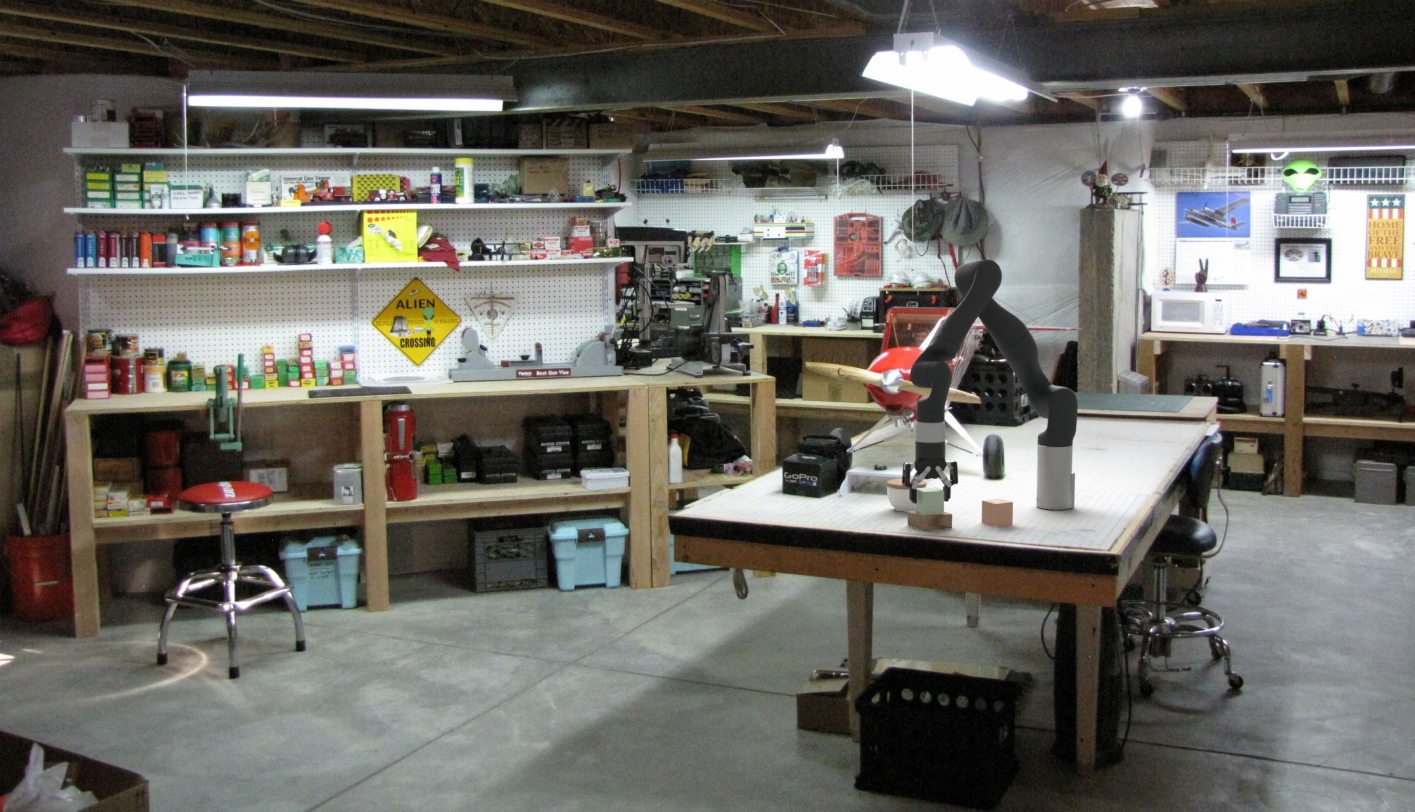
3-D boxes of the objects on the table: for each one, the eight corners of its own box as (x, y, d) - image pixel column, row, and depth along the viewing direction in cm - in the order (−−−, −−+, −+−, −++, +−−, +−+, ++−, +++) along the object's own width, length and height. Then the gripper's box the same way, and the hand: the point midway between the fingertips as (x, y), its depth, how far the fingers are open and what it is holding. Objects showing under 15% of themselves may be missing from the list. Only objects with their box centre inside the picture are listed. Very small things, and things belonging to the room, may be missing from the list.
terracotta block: (998, 521, 319) (998, 498, 319) (1012, 524, 315) (1012, 501, 314) (981, 523, 317) (982, 500, 316) (995, 527, 312) (995, 504, 311)
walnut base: (932, 523, 319) (933, 508, 318) (952, 529, 311) (952, 514, 311) (907, 526, 315) (907, 511, 315) (926, 532, 308) (926, 517, 307)
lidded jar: (879, 507, 338) (879, 474, 337) (913, 504, 342) (913, 471, 341) (898, 515, 328) (898, 480, 327) (933, 511, 332) (933, 477, 331)
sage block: (935, 509, 316) (935, 487, 315) (943, 514, 311) (944, 490, 310) (915, 511, 315) (915, 488, 314) (923, 515, 310) (923, 492, 309)
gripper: (951, 436, 316) (950, 498, 318) (898, 438, 313) (898, 500, 315) (962, 440, 308) (962, 503, 310) (909, 442, 306) (908, 506, 307)
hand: (929, 502), depth 312 cm, fingers open, 8 cm apart
